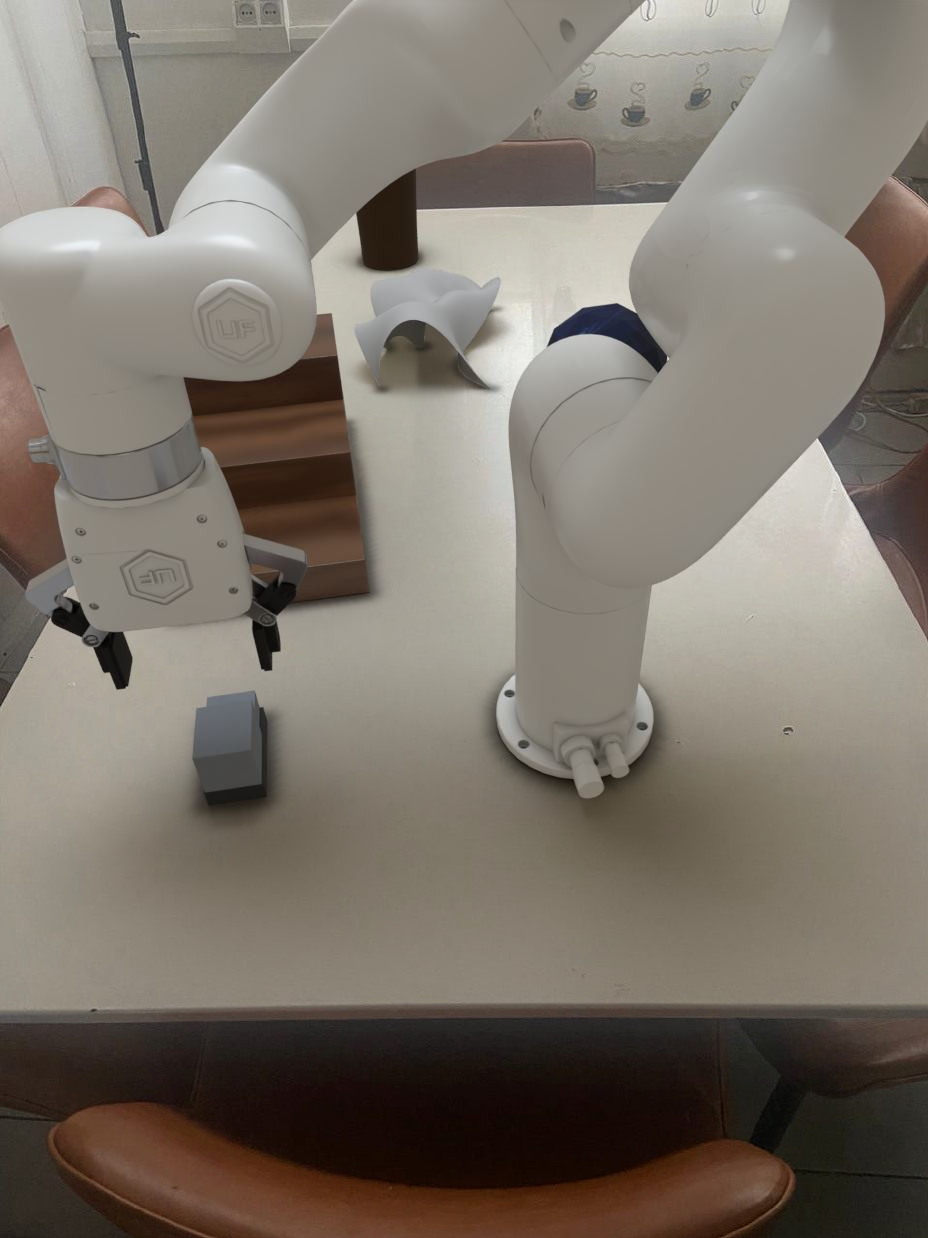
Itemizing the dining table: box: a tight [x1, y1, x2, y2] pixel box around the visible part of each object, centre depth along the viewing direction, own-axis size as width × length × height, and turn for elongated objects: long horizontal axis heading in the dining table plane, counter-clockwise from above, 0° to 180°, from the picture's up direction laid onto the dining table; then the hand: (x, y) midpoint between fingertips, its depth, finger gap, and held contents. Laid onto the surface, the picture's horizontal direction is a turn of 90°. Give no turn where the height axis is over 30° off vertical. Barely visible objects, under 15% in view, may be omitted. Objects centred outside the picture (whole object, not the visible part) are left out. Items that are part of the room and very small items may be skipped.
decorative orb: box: [545, 302, 668, 373], centre depth 102 cm, size 14×15×15 cm
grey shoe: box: [191, 690, 268, 806], centre depth 69 cm, size 8×4×6 cm, turn 9°
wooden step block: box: [183, 312, 370, 604], centre depth 92 cm, size 33×18×14 cm, turn 9°
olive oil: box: [355, 168, 419, 271], centre depth 142 cm, size 11×11×25 cm
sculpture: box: [353, 267, 502, 390], centre depth 121 cm, size 25×19×10 cm
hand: (197, 666), depth 61 cm, fingers open, 9 cm apart
